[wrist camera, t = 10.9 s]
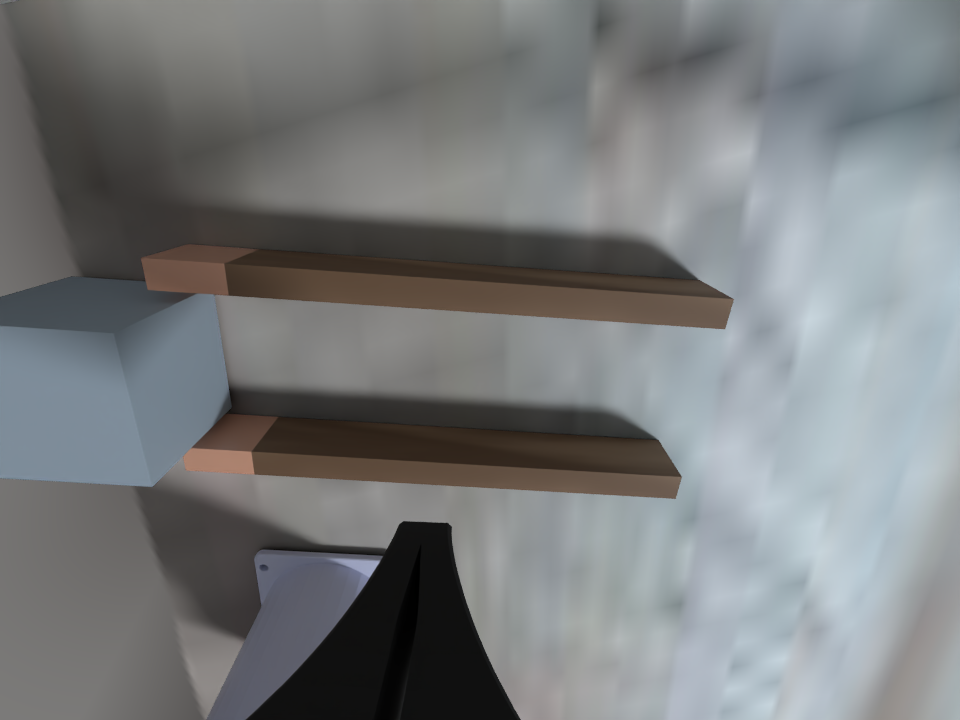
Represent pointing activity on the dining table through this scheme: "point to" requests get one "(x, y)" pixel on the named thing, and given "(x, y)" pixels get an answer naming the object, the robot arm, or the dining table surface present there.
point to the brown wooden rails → (431, 448)
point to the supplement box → (6, 1)
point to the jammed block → (106, 380)
